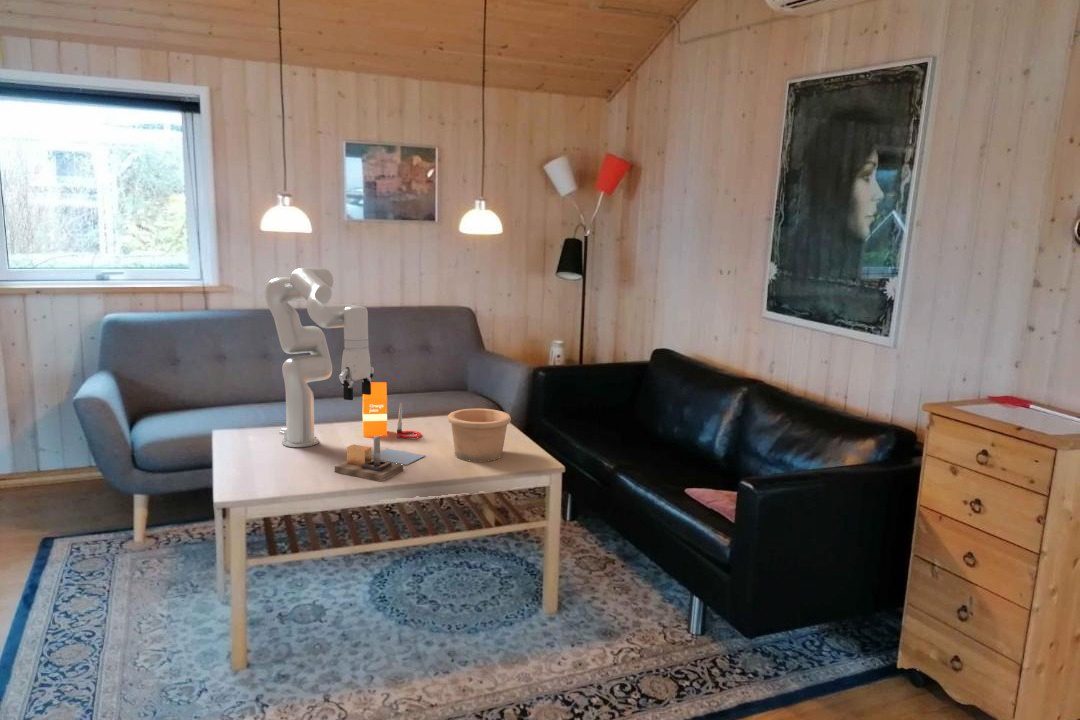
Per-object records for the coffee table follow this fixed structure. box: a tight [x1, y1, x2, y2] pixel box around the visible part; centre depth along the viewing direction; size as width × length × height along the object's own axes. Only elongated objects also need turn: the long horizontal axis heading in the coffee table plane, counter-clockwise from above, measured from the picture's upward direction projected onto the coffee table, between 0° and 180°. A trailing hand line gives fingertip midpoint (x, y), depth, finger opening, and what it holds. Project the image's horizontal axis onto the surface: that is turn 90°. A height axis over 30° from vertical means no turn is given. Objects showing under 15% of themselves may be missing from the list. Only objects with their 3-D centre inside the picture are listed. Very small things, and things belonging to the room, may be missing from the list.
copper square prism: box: [346, 444, 392, 472], centre depth 243 cm, size 14×7×6 cm, turn 67°
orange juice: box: [362, 381, 388, 437], centre depth 286 cm, size 8×9×20 cm
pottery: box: [447, 407, 512, 462], centre depth 265 cm, size 22×22×14 cm
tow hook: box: [395, 402, 422, 439], centre depth 285 cm, size 8×13×9 cm
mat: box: [371, 448, 426, 466], centre depth 259 cm, size 16×12×1 cm
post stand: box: [334, 436, 404, 482], centre depth 242 cm, size 18×12×12 cm, turn 67°
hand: (357, 397), depth 244 cm, fingers open, 9 cm apart
